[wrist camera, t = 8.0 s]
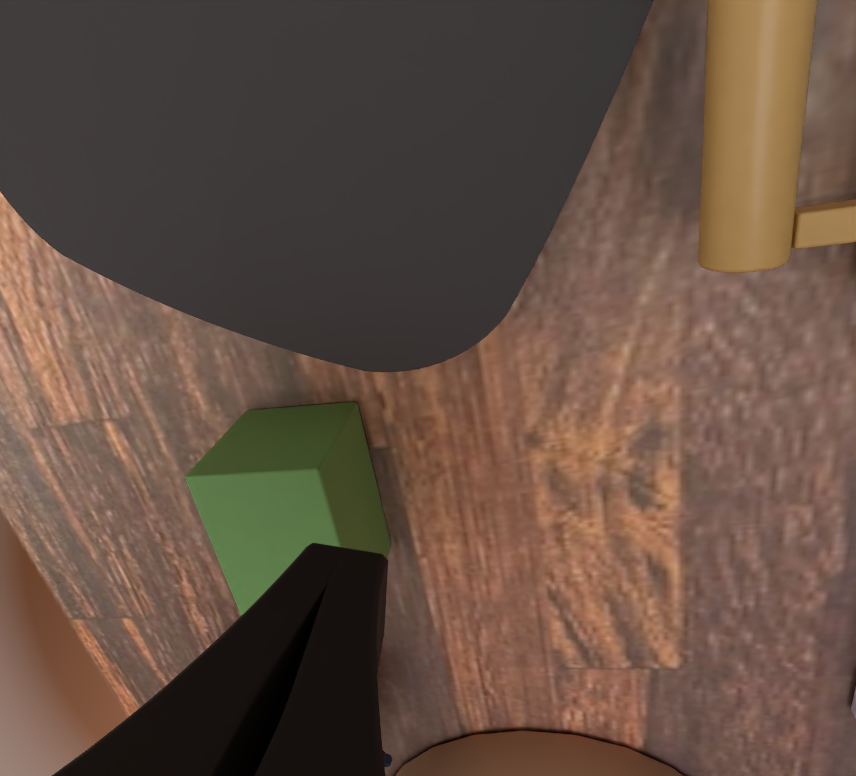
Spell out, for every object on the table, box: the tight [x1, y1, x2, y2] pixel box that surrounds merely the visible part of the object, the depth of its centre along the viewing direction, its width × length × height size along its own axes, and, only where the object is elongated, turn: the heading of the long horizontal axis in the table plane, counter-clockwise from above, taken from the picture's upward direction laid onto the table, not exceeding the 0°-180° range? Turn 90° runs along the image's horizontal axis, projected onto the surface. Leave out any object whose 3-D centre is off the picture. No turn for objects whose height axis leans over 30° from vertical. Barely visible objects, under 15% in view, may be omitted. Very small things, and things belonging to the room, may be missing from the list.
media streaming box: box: [0, 0, 653, 372], centre depth 12 cm, size 15×15×3 cm
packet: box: [185, 402, 391, 616], centre depth 18 cm, size 6×4×4 cm, turn 9°
